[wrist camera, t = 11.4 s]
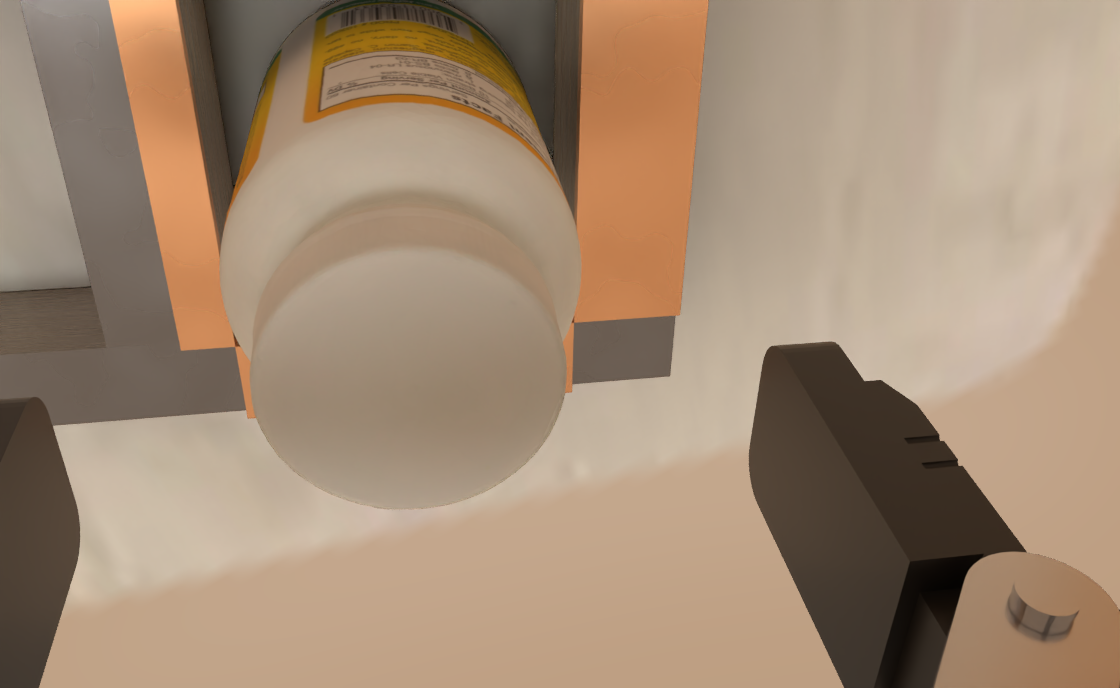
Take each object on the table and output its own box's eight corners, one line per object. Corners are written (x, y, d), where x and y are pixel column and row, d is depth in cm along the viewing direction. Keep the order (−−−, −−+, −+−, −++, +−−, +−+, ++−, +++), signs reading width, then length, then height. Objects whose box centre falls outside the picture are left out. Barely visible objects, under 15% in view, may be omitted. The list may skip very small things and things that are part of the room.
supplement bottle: (411, -74, 19) (451, 96, 11) (575, 141, 22) (702, 401, 14) (195, 103, 20) (91, 374, 12) (378, 287, 23) (390, 608, 15)
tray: (-568, -146, 16) (-722, -118, 14) (675, -149, 19) (720, -126, 17) (-300, 384, 22) (-379, 469, 19) (642, 317, 25) (673, 384, 22)
